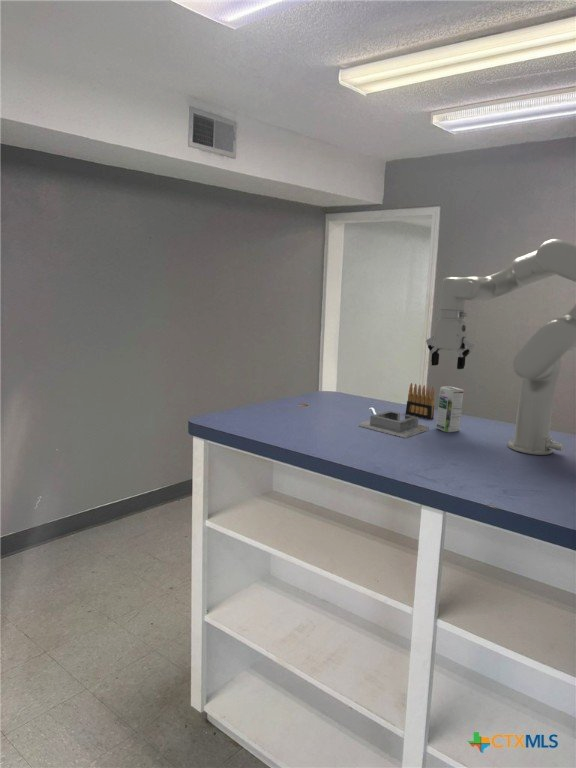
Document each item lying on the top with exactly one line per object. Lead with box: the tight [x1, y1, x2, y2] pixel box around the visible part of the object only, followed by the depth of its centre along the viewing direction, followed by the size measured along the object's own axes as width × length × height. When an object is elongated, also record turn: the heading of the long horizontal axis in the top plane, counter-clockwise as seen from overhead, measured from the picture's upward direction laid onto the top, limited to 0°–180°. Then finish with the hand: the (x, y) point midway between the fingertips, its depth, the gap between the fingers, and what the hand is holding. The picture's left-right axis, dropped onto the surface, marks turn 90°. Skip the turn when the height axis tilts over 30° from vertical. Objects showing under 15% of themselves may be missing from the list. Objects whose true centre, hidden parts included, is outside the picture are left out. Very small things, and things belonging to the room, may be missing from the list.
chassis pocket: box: [358, 410, 430, 439], centre depth 179 cm, size 18×15×4 cm
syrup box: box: [435, 385, 465, 433], centre depth 179 cm, size 6×6×14 cm
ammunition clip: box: [405, 382, 435, 420], centre depth 196 cm, size 11×2×12 cm, turn 46°
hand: (447, 367), depth 178 cm, fingers open, 9 cm apart
